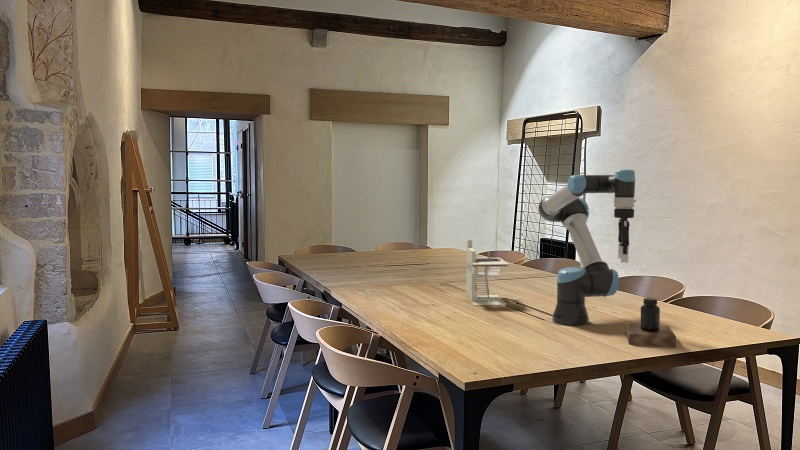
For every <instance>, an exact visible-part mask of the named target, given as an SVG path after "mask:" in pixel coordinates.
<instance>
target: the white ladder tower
mask: <svg viewBox="0 0 800 450" xmlns="http://www.w3.org/2000/svg"><path fill="white" fill-rule="evenodd" d="M490 253H491V252H490V251H488V255H487V257H477V251H476V250H475V249H474V248H473V239H466V296H467V298H468V297H469V298H468V299H469V301H470V300H471V301H470V302H471V304H472V303H473V304H472V305H473V306H474V305H504V306H507V303H506V302H505V301H504V300H503V299H502V298H501V297H500V296H499V295H498V294H490V288H489V280H488V277H500V274H501V270H502V267H509V266H510V263H509V262H507V261H505V260H504V259H502V256H503V253H500V255H499V257H491V254H490ZM478 267H484V272H479V268H478ZM477 277H484V278H477Z"/></svg>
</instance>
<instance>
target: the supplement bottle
mask: <svg viewBox="0 0 800 450" xmlns="http://www.w3.org/2000/svg"><path fill="white" fill-rule="evenodd" d="M639 325H641V329H642V330H644V331H649V332H656V331H659V330H660V326H661V308H660V307H659V306H658V299H657V298H654V297H644V298H643V303H642V305H641V306H640V324H639Z"/></svg>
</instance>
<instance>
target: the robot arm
mask: <svg viewBox="0 0 800 450" xmlns="http://www.w3.org/2000/svg"><path fill="white" fill-rule="evenodd" d="M635 189H636V173H635V170H633V169H616V170H615V173H614V174H591V175H590V174H576V175H575V174H573V175H570V176H569V177H568V180H567V183H566V185H564V186H563V187H562V188H560V189H559V190H557V191H556V192H555V193H553V194H551V195H546V196H545V197H544V198H542V199H541V200H540V202H538V207H537V208H538V214H539V215H540V216H541V217H542V218H543V219H544V220H545V221H548V222H551V223H561V224H562V227H563V228H564V229H566V230H568V232H569V236H570V238H571V240H572V243H573V245H574V248H575V250H576V252H577V255H578V258H579V260H580V263H581V266H570V267H569V266H568V267H564V268H562V269H560V270H558V272H557V278H556V286H557V287H556V299H557V300H556V304H555V308H554V310H553V313H552V322H554V323H556V324H560V325H565V326H566V325H567V326H584V325H588V324H589V321H590V319H589V318H590V316H589V314H588V310H587V308H586V303H585V302H586V298H595V297H596V298H598V297H603V298H604V297H605V298H607V297H610V296H614V295H615V294H616V293H617V292H618V290H619V285H620V276H619V273H618V271H616V269H613V268H609V265H608V263H607V262H605V261H603V259H602V258H601V255H600V253H599V250H598V248H597V246H596V244H595V241H594V239H593V237H592V235H591V232H590V230H589V227H588V225H587V221H588V218H589V216H590V211H589V206H588V203H587V202H586V200H585V199H583V198H582V196H585V195H586V194H614V199H613V200H614V202H613V203H614V206H613V207H614V210H613V214H614V216H613V217H614V218H616V219H619V220H618V223H617V226H618V236H617V237H618V238H617V240H618V241H617V242H618V247H617V248H618V250H617V258H618V259H620V263H626V264H627V263H629V252H630V251H629V247H630V225H631V224H630V222H629V219H633V218H635V203H636V202H637V200H636V199H635V194H636V193H635Z"/></svg>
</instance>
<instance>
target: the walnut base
mask: <svg viewBox="0 0 800 450" xmlns="http://www.w3.org/2000/svg"><path fill="white" fill-rule="evenodd" d="M624 327H625V328H624V329H625V332H624V334H625V337H626V340H627V342H628V345H631V346H632V345H633V346H635V345H636V346H648V347H661V348H662V347H664V348H677V335H676V334H675V333H674V331H673V330H672V328H671V326H668V325H667V326H666V325H664V326H663V325H660V330H659V331H656V332H649V331H644V330H642V329H641V325H640V324H631V323H625V326H624Z"/></svg>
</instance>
